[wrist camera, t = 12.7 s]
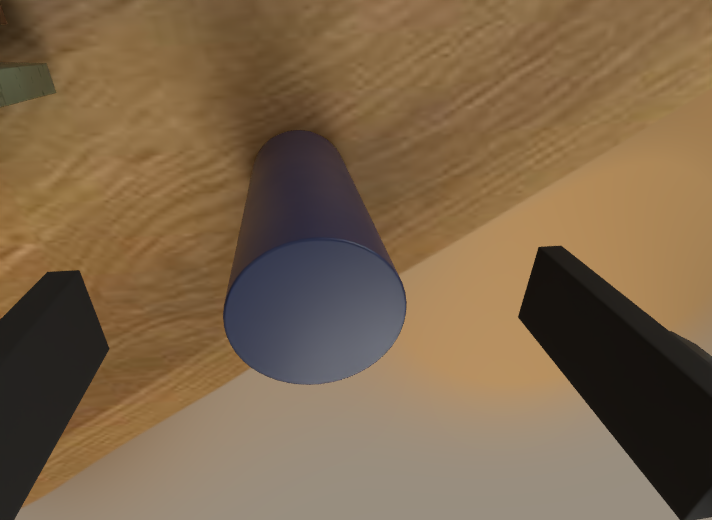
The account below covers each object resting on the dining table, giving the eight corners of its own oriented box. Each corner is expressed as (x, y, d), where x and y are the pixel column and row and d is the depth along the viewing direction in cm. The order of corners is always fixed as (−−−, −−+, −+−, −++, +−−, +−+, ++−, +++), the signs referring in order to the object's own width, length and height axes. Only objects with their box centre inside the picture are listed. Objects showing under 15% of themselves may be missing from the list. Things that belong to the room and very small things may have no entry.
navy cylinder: (346, 129, 21) (415, 233, 10) (344, 217, 24) (399, 376, 13) (247, 130, 21) (208, 243, 10) (257, 221, 23) (235, 394, 12)
